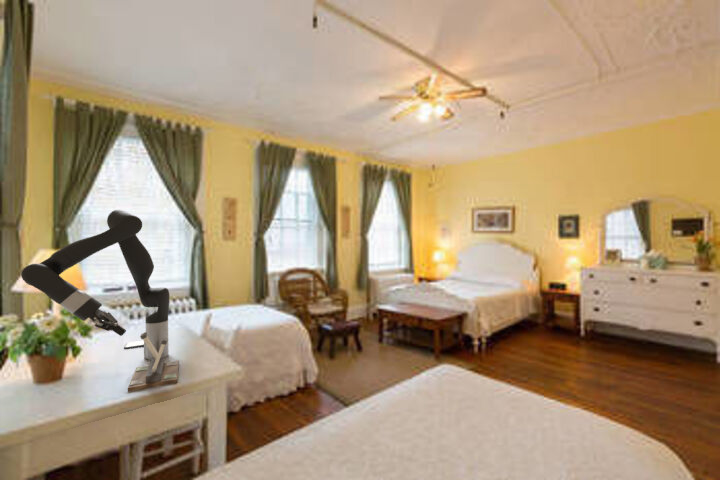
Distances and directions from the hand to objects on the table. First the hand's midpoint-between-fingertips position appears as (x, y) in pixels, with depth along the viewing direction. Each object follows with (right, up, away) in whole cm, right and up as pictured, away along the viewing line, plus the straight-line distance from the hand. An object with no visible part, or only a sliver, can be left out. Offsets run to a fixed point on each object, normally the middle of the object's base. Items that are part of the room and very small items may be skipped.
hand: (123, 333), depth 121 cm
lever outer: (+8, -16, +5) cm, 18 cm away
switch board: (+5, -21, +11) cm, 24 cm away
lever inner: (+2, -15, +17) cm, 23 cm away
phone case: (-27, -21, +50) cm, 61 cm away
